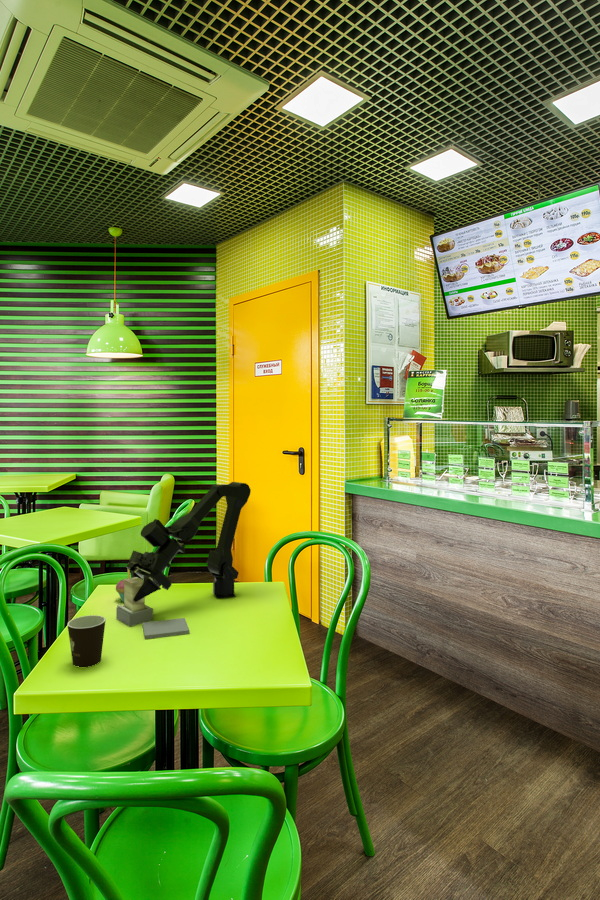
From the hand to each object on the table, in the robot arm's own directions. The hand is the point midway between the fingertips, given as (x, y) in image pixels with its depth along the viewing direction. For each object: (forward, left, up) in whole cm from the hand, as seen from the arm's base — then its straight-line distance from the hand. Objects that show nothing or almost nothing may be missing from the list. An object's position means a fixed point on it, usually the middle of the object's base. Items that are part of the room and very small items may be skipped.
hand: (130, 598), depth 154 cm
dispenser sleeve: (-1, -1, -7) cm, 7 cm away
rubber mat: (-9, +10, -7) cm, 15 cm away
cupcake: (0, -20, -7) cm, 21 cm away
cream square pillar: (-1, -1, -7) cm, 7 cm away
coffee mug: (+11, +23, -7) cm, 27 cm away
